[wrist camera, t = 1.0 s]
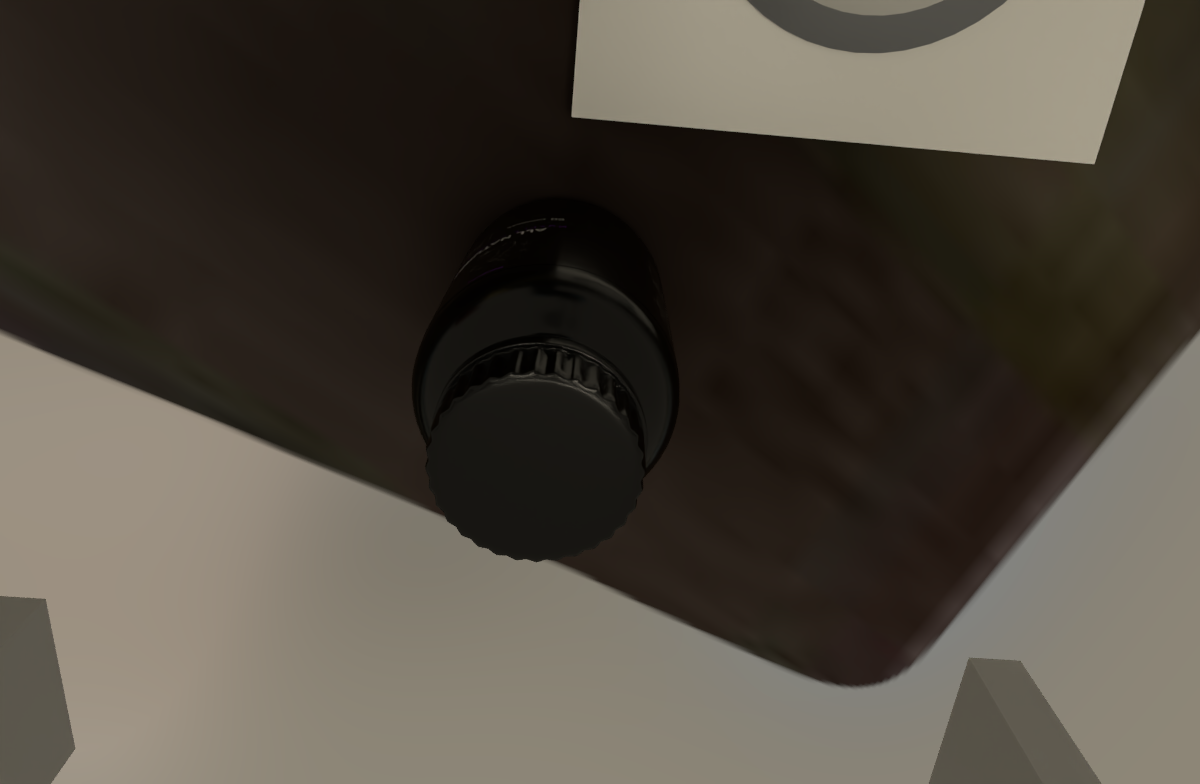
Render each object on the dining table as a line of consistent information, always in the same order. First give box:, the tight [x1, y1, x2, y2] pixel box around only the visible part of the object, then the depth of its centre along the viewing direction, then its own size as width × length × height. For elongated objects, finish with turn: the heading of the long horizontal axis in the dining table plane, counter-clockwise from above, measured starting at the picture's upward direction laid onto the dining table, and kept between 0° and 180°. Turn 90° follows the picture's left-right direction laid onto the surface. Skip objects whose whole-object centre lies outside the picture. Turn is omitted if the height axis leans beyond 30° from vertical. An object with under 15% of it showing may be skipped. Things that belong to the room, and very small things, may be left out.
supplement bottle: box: [412, 200, 679, 562], centre depth 24 cm, size 7×7×12 cm
